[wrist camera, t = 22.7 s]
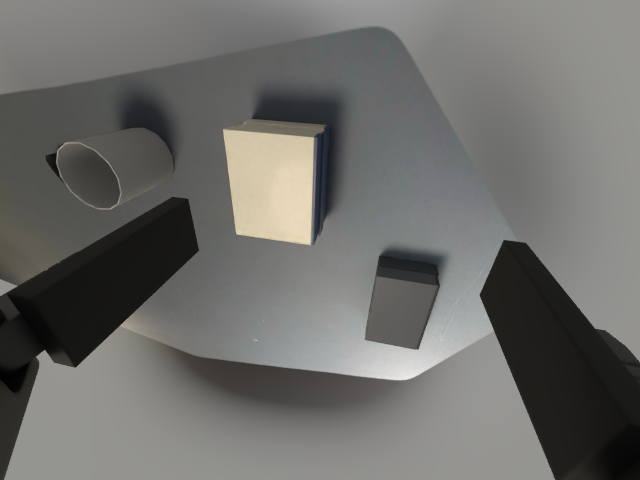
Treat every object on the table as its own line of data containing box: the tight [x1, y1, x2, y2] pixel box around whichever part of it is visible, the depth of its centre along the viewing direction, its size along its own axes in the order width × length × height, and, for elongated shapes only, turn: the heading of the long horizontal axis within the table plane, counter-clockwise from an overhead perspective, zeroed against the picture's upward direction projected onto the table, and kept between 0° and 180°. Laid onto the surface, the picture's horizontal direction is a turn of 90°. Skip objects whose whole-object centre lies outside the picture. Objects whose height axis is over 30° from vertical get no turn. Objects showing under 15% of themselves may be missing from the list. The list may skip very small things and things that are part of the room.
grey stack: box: [365, 256, 440, 350], centre depth 44 cm, size 9×13×5 cm, turn 177°
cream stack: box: [240, 119, 330, 236], centre depth 37 cm, size 10×13×5 cm
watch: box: [45, 153, 65, 183], centre depth 45 cm, size 8×5×4 cm, turn 35°
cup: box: [56, 128, 174, 210], centre depth 38 cm, size 8×8×10 cm
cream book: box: [223, 126, 322, 245], centre depth 34 cm, size 10×13×2 cm
